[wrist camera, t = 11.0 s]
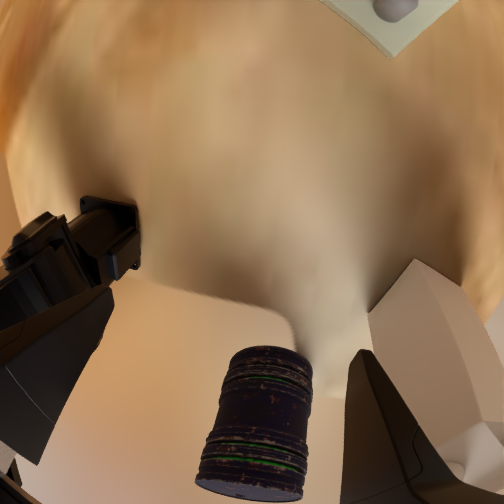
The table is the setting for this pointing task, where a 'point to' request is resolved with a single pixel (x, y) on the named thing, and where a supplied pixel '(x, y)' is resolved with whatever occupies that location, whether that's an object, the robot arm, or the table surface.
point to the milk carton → (444, 371)
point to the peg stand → (390, 19)
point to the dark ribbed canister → (260, 428)
